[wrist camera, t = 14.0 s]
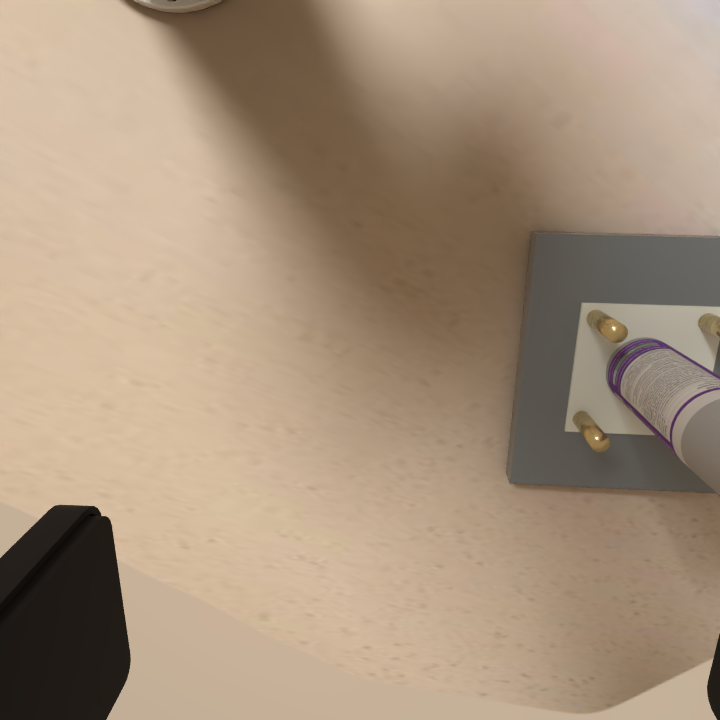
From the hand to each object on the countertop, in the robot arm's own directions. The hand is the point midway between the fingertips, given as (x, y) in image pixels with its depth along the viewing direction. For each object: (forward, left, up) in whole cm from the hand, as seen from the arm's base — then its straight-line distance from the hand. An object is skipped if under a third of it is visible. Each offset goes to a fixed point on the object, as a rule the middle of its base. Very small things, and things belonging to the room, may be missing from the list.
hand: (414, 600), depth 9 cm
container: (+6, +16, -31) cm, 36 cm away
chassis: (+6, +17, -33) cm, 37 cm away
